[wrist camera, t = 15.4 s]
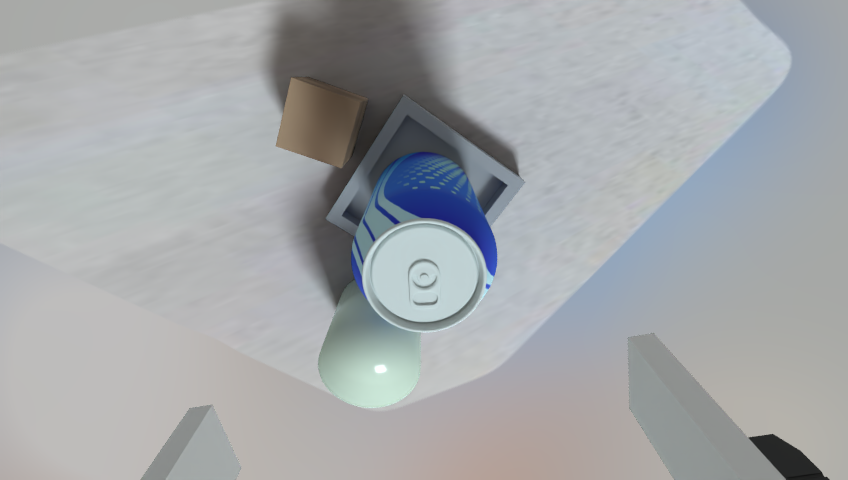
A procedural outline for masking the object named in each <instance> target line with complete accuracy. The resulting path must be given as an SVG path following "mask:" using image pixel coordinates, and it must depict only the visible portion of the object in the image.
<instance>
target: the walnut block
mask: <svg viewBox="0 0 848 480" xmlns="http://www.w3.org/2000/svg"><path fill="white" fill-rule="evenodd" d="M367 102H368V98H365V97H362V96H360V95H357V94H354V93H351V92H349V91H346V90H343V89H340V88H337V87H335V86H332V85H329V84H326V83H324V82H321V81H318V80H315V79H313V78H310V77H291V80H290V85H289V89H288V94H287V98H286V103H285V107H284V111H283V116H282V120H281V125H280V129H279V134H278V138H277V143H276V146H277V147H280V148H283V149H286V150H289V151H292V152H295V153H298V154H301V155H304V156H306V157H309V158H312V159H315V160H318V161H321V162H324V163H327V164H330V165H333V166H336V167H339V168H342V167H343V166H344V165H345V164H346V163H347V162H348V160H349V159H350V158H351V157H352V154H353V150H354V147H355V143H356V140H357V137H358V133H359V130H360V126H361V123H362V119H363V116H364V112H365V109H366V105H367Z"/></svg>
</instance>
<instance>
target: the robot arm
mask: <svg viewBox="0 0 848 480" xmlns="http://www.w3.org/2000/svg"><path fill="white" fill-rule="evenodd" d="M628 362H629V363H628V365H629V409H630V410H631V412H632V413H633V415H634V417H635V418H636V420H637V421H638V423H639V424H640V426H641V428H642V429H643V431H644V432H645V434H646V436H647V437H648V439H649V440H650V442H651V443H652V445H653V447H654V448H655V450H656V451H657V453H658V455H659V456H660V458H661V460H662V461H663V463H664V464H665V466H666V467H667V469H668V471H669V472H670V474H671V475H672V477H673V479H674V480H829V479H828V478H827V477H824V476H823V474H822V472H821V471H820V470H819V469H818V468H817V467H816V466H815V465H814V464H813V463H812V462H811V461H810V460H809V459H808V458H807V457H806V456H805V455H804V454H803V453H802V452H801V451H800V450H798V449H797V448H795V447H793V446H792V445H790V444H788V443H787V442H785V441H783V440H782V439H780V438H778V437H777V436H775V435H773V434H770V435H764V436H756V437H749V438H748V437H747V436H746V435H745V434H744V433H743V431H742V430H741V429H740V428H739V427H738V426H737V425H736V424H735V423H734V422H733V420H732V419H731V418H730V417H729V416H728V415H727V414H726V413H725V412H724V411H723V410H722V408H721V407H720V406H719V405H718V404H717V403H716V402H715V400H714V399H713V398H712V397H711V396H710V395H709V394H708V393H707V392H706V391H705V389H703V387H702V386H701V385H700V384H699V383H698V382H697V381H696V380H695V378H694V377H693V376H692V375H691V374H690V373H689V372H688V371H687V370H686V368H685V367H684V366H683V365H682V364H681V363H680V362H679V361H678V360H677V358H676V357H675V356H674V355H673V354H672V353H671V352H670V351H669V350H668V348H666V346H665V345H664V344H663V343H662V342H661V341H660V340H659V339H658V337H657V336H656V335H655V334H654V333H651V334H645V335H639V336H633V337H628ZM240 470H241V466H240V463H239V461H238V459H237V457H236V455H235V453H234V450H233V448H232V446H231V444H230V442H229V440H228V437H227V435H226V433H225V431H224V429H223V427H222V424H221V422H220V420H219V418H218V416H217V414H216V411H215V409H214V407H213V405H207V406H201V407H195V408H189V410H188V411H187V413H186V414H185V416H184V417H183V419H182V420H181V422H180V423H179V425H178V426H177V427H176V429H175V430H174V432H173V433H172V435H171V436H170V437H169V439H168V440H167V442H166V443H165V445H164V446H163V448H162V449H161V451H160V452H159V453H158V455H157V456H156V458H155V459H154V461H153V462H152V464H151V465H150V467H149V468H148V470H147V471H146V472H145V474H144V475H143V477H142V478H141V480H236V478H237V476H238V474H239V472H240Z"/></svg>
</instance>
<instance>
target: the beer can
mask: <svg viewBox="0 0 848 480" xmlns="http://www.w3.org/2000/svg"><path fill="white" fill-rule="evenodd" d="M351 264H352V271H353V274H354V278H355V280H356V283H357V285H358V287H359V289H360V291H361V292H362V294H363V295H364V296H365V298H366V299H367V300H368V301H369V303H370V304H371V306H372V307H373V309H374V310H375V311H376V312H377V313H378V314H379V315H380V316H381V317H382V318H383V319H385V320H386V321H387V322H389V323H391V324H392V325H394V326H397V327H399V328H402V329H405V330H408V331H413V332H435V331H440V330H444V329H447V328H450V327H452V326H454V325H456V324H458V323H460V322H461V321H463V320H464V319H465V318H466V317H468V316H469V315H470V314H471V313H472V312H473V311H474V309H475V308H476V307H477V305H478V304H479V302H480V300H481V299H482V298H483V297H484V295H485V294H486V292H487V291H488V289H489V287H490V285H491V283H492V281H493V278H494V275H495V272H496V267H497V248H496V242H495V238H494V235H493V233H492V230H491V228H490V226H489V224H488V221H487V219H486V217H485V215H484V212H483V210H482V208H481V206H480V203H479V201H478V199H477V197H476V195H475V192H474V190H473V188H472V186H471V183H470V181H469V179H468V177H467V176H466V174H465V173H464V171H463V170H462V169H461V168H460V167H459V166H458V165H457V164H456V163H455V162H453V161H452V160H451V159H449V158H447V157H445V156H442V155H440V154H436V153H432V152H416V153H411V154H407V155H405V156H402V157H400V158H398V159H397V160H395V161H394V162H392V163H391V164H390V165H389V166H388V167H387V168H386V169H385V170H384V171H383V172H382V174H381V175H380V177H379V179H378V181H377V183H376V186H375V188H374V191H373V193H372V195H371V198H370V200H369V203H368V205H367V207H366V210H365V212H364V215H363V217H362V219H361V222H360V224H359V226H358V229H357V231H356V234H355V236H354V240H353V244H352V251H351Z"/></svg>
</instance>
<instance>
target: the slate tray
mask: <svg viewBox="0 0 848 480" xmlns="http://www.w3.org/2000/svg"><path fill="white" fill-rule="evenodd" d="M416 152H432V153H436V154H440V155H442V156H445V157H447V158H449V159H451V160H452V161H453V162H455V163H456V164H457V165H458V166H459V167H460V168H461V169H462V170H463V171H464V173H465V174H466V176H467V177H468V179H469V181H470V183H471V186H472V188H473V190H474V192H475V195H476V197H477V199H478V201H479V203H480V206H481V208H482V210H483V212H484V215H485V217H486V219H487V221H488V224H489V226H490V227H491V225H492V224H493V223H494V222H495V220H496V219H497V218H498V216H499V215H500V214H501V213H502V211H503V210H504V209H505V207H506V206H507V205H508V204H509V202H510V201H511V200H512V199H513V197H514V196H515V195H516V193H517V192H518V191H519V190H520V188H521V187H522V186H523V184H524V183H525V181H524V180H523V179H522V178H521V177H520V176H518V175H517V174H516V173H514V172H513V171H511V170H510V169H509V168H507V167H506V166H504V165H503V164H502V163H500V162H499V161H497V160H496V159H495V158H493V157H492V156H490V155H489V154H487V153H486V152H485V151H483V150H482V149H480V148H479V147H478V146H476V145H475V144H473V143H472V142H471V141H469V140H468V139H466V138H465V137H464V136H462V135H461V134H459V133H458V132H457V131H455V130H454V129H452V128H451V127H450V126H448V125H447V124H445V123H444V122H442V121H441V120H440V119H438V118H437V117H435V116H434V115H433V114H431V113H430V112H428V111H427V110H426V109H424V108H423V107H421V106H420V105H419V104H417V103H416V102H414V101H413V100H412V99H410V98H409V97H407V96H406V95H403V97H402V98H401V100H400V101H399V103H398V104H397V106H396V108H395V109H394V111H393V112H392V114H391V116H390V117H389V119H388V120H387V122H386V123H385V125H384V127H383V128H382V130H381V131H380V133H379V135H378V136H377V138H376V139H375V141H374V143H373V144H372V146H371V147H370V149H369V150H368V152H367V154H366V155H365V157H364V158H363V160H362V162H361V163H360V165H359V166H358V168H357V169H356V171H355V173H354V174H353V176H352V177H351V179H350V181H349V182H348V184H347V185H346V187H345V189H344V190H343V192H342V193H341V195H340V196H339V198H338V200H337V201H336V203H335V204H334V206H333V208H332V209H331V211H330V212H329V214H328V215H327V217H326V220H328V221H329V222H331V223H333V224H334V225H336V226H338V227H339V228H341V229H342V230H344V231H346V232H347V233H349V234H351V235H352V236H355V234H356V231H357V229H358V226H359V224H360V222H361V219H362V217H363V215H364V212H365V210H366V207H367V205H368V203H369V200H370V198H371V195H372V193H373V191H374V188H375V186H376V183H377V181H378V179H379V177H380V175H381V174H382V172H383V171H384V170H385V169H386V168H387V167H388V166H389V165H390V164H391V163H392V162H394V161H395V160H397V159H398V158H400V157H402V156H405V155H407V154H411V153H416Z"/></svg>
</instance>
